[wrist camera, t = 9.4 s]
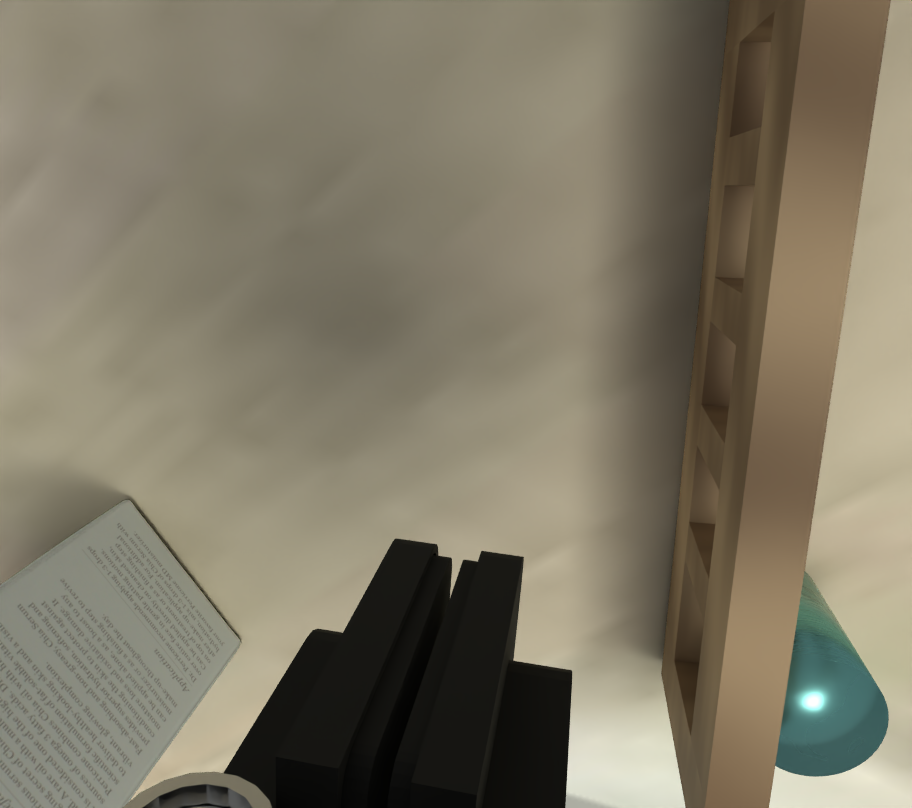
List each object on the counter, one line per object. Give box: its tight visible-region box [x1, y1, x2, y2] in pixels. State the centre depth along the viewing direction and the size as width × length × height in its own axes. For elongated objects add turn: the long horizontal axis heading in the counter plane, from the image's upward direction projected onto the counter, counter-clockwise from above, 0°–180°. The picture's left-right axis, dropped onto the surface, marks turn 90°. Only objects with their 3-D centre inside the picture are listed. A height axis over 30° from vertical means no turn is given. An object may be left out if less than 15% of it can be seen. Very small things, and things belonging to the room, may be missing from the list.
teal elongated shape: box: [775, 571, 889, 776], centre depth 15 cm, size 3×20×10 cm, turn 6°
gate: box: [661, 0, 891, 808], centre depth 17 cm, size 18×1×7 cm, turn 179°
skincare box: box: [0, 500, 240, 808], centre depth 19 cm, size 6×4×12 cm
